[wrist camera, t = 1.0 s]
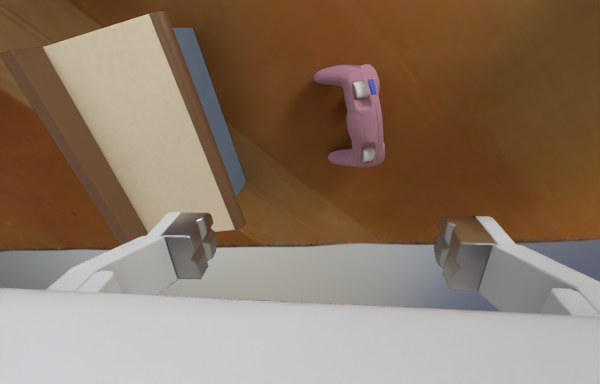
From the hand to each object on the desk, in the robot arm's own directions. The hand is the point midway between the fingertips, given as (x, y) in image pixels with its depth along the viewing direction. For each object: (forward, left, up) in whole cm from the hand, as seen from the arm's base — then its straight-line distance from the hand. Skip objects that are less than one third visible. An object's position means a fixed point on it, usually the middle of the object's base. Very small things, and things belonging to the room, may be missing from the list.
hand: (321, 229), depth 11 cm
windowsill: (+16, -1, -22) cm, 28 cm away
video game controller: (-1, +2, -23) cm, 23 cm away
